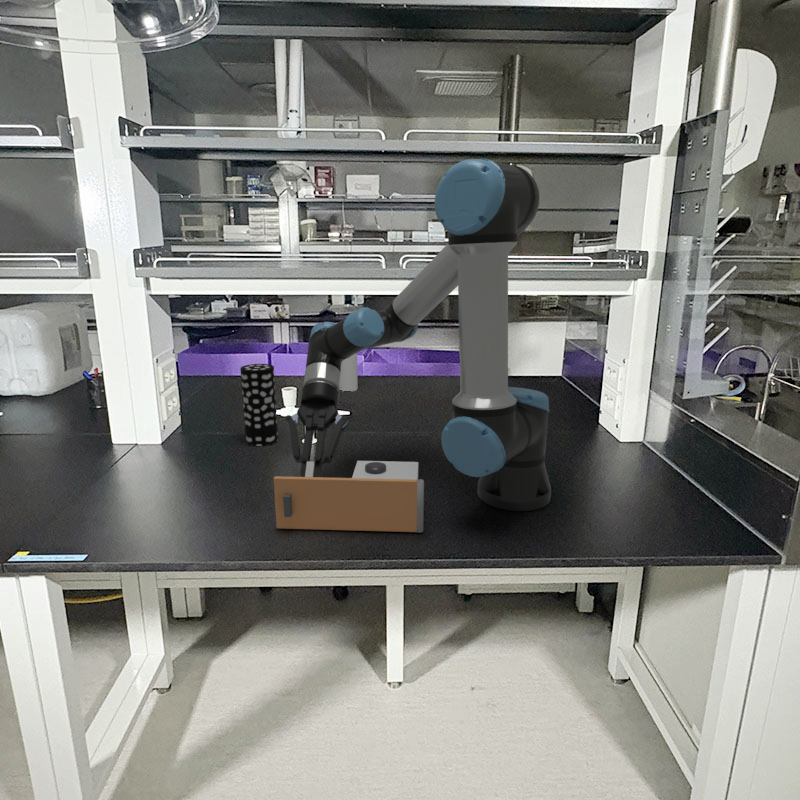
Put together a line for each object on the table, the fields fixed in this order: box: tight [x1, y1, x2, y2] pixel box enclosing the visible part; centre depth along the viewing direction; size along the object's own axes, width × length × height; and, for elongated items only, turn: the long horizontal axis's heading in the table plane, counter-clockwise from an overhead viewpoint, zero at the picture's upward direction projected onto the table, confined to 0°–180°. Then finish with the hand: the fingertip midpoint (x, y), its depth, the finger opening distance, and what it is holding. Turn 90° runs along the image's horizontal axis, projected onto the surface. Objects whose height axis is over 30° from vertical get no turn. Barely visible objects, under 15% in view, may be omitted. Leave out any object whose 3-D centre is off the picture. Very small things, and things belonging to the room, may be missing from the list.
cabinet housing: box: [351, 460, 419, 480], centre depth 112 cm, size 12×9×11 cm
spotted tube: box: [239, 363, 279, 447], centre depth 153 cm, size 8×8×20 cm
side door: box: [273, 475, 425, 533], centre depth 107 cm, size 27×2×10 cm, turn 87°
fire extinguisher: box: [338, 352, 359, 392], centre depth 203 cm, size 7×12×25 cm, turn 87°
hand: (308, 495), depth 113 cm, fingers closed
